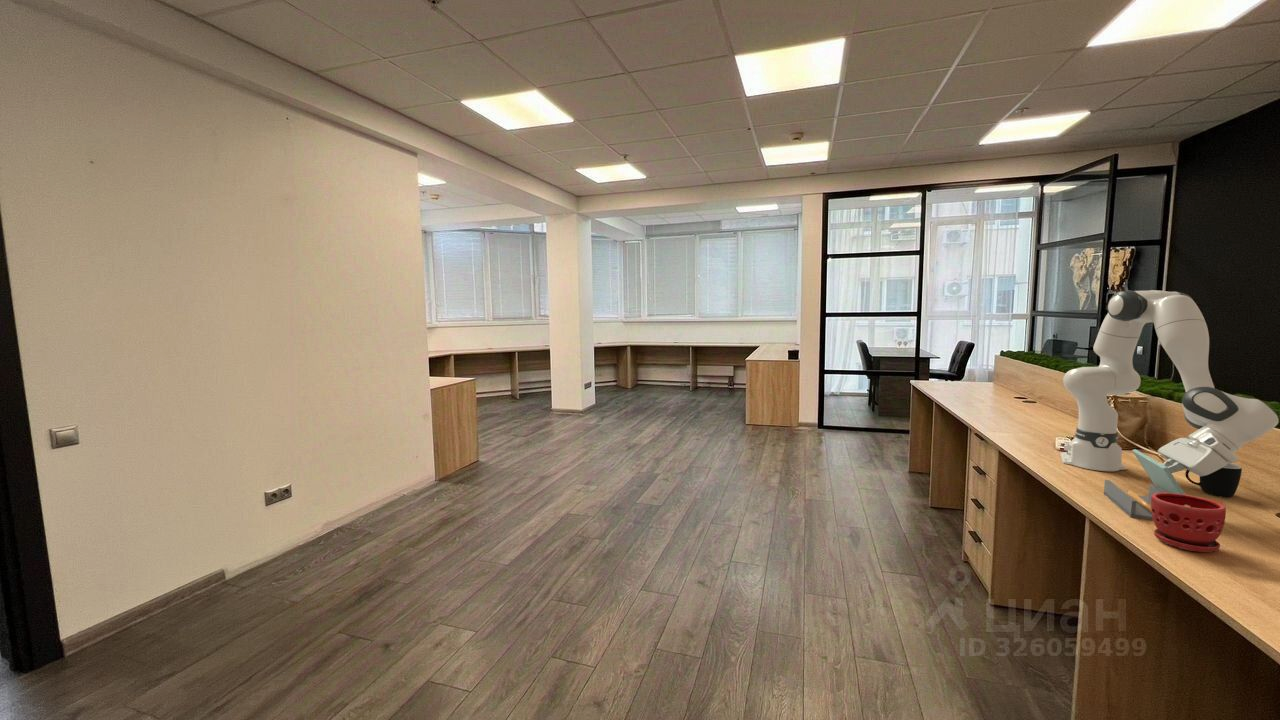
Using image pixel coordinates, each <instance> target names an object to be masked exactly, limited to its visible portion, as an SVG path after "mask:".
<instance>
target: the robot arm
mask: <svg viewBox="0 0 1280 720" xmlns="http://www.w3.org/2000/svg"><path fill="white" fill-rule="evenodd" d="M1106 308H1107V314H1106V315H1105V317H1104V319H1103V321H1102V323H1101V326H1100V328H1099V329H1098V330H1099V331H1098V333H1097V336H1096V339H1095V342H1094V344H1093V352H1094V353H1095V354H1096V355H1097V356H1098V357H1099V360H1100V361H1099V365H1098V366H1081V367H1076V368H1072V369H1070V370H1068V371H1066V373H1064V375H1063V378H1062V382H1063V383H1062V384H1063V386H1064V389H1065V390H1066V391H1067V392H1069V393H1070V394H1071V395H1072V396H1073V398H1074V399H1075V402H1076V404H1077V408H1078V423H1077V427H1076V430H1075V432H1074V438H1073V439H1072V440H1071V441H1070V442H1069V443H1068V444H1064V446H1063V450H1064V451H1065V452H1064V451H1063V452H1060V457H1061V460H1062V463H1063V464H1067V465H1070V466H1076V467H1078V468H1082V469H1087V470H1092V471H1099V472H1100V471H1101V472H1119V471H1120V470H1121V471H1123V470H1125V471H1126V470H1127V466H1126V465H1124V464H1122V462H1123V461H1122V460H1123V457H1122V455H1123V454H1122V453H1123V451H1122V447H1121V446H1120V445H1119V444H1118V439H1119V433H1118V432H1117V431H1118V420H1119V413H1118V411H1117V410H1116V409H1115V408H1113V407H1112V406H1110V404H1109V402H1108V397H1107V396H1121V395H1126V394H1130V393H1134V392H1135V391H1137V390H1139V388H1140V386H1141V381H1142V380H1141V376H1140V374H1139V373H1138V372H1137V371H1136V370H1135V368H1134V363H1133V360H1134V359H1133V358H1134V353H1135V350H1136V348H1137V345H1138V341H1139V340H1140V337H1141V334H1142V331H1143V328H1144V326H1145V325H1146V324H1150V323H1152V324H1153V326H1154V330H1155V333H1156V336H1157V338H1158V341H1159V342H1160V345H1161V347H1162V348H1163V349H1164V351H1165V353H1166V354H1167V355H1168V357H1169V359H1170V360H1171V361H1172V363H1173V364H1174V366H1175V367H1176V369H1177V371H1178V373H1179V375H1180V378H1181V381H1182V385H1183V388H1184V390H1185V393H1184V394H1183V395H1182V398H1181V405H1182V409H1183V413H1184V414H1183V415H1184V420H1185V421H1186V422H1187V424H1188V425H1190V426H1192V427H1193V428H1194V429H1196V430H1194V432H1192V433H1190V434H1189V435H1187V437H1179V438H1176V439H1174V440H1172V441H1170V442H1168V443H1167V444H1165V445H1162V446H1161V447H1159V448H1158V450H1157V452H1158V454H1160V455H1161V456H1162V457H1163V458H1164V459H1165V461H1164V462H1163V463H1162V465H1164V466H1166V467H1167V468H1168V469H1169V471H1170V472H1171V474H1172V475H1173V474H1174V473H1178V472H1182V471H1184V470H1189V472H1191V473H1193V474H1195V475H1197V476H1199V477H1200V476H1205V475H1209V474H1211V473H1213V472H1215V471H1217V470H1219V469H1220V468H1222V467H1224V466H1225V465H1227V463H1232V464H1235V463H1236V462H1237V461H1238V460H1239V457H1238V456H1237V454H1236V451H1238V450H1240V449H1241V447H1242V446H1244V445H1245V444H1247V443H1250V442H1253V441H1256V440H1257V439H1259V438H1261V437H1263V436H1264V435H1266V434H1267V433H1268V432H1270V431H1272V430H1273V429H1274V428H1275V427H1276V426H1278V424H1279V422H1280V421H1279V420H1280V419H1279V415H1278V414H1277V413H1276V411H1275V410H1274V409H1273V408H1272V407H1271V406H1270V405H1269V404H1268V403H1266V402H1264V401H1262V400H1260V399H1257V398H1247V397H1242V396H1237V395H1234V394H1230V393H1227V392H1224V391H1223V390H1222V391H1221V390H1219V389H1217V388H1215V384H1214V382H1213V379H1212V377H1211V374H1210V369H1209V353H1210V335H1209V329H1208V325H1207V322H1206V320H1205V317H1204V316H1203V313H1202V311H1201V310H1200V308H1199V306H1198V305H1197V303H1196V302H1195V301H1194V299H1193V298H1192V297H1191V296H1190V295H1189V294H1186V293H1184V292H1179V291H1169V290H1168V291H1166V290H1158V289H1157V290H1155V289H1151V290H1123V291H1122V290H1121V291H1118V292H1115V293H1114V294H1113V295H1112V296H1111V297H1110V298H1109V300H1108V302H1107V307H1106Z"/></svg>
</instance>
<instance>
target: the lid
mask: <svg viewBox="0 0 1280 720" xmlns="http://www.w3.org/2000/svg"><path fill="white" fill-rule="evenodd" d="M1131 451H1132V454H1133V455H1134V456H1135V458H1136V459H1137V460H1138V462H1139V463H1140V466H1142V468H1143V470H1144V471H1145V473H1146V474H1147V475H1148V477H1149V478H1150V480H1151V482H1152V483H1153V485H1155V486H1156V487H1158V488H1159V489H1161V490H1162V491H1164V492H1165V493H1175V494H1183V495H1187V494H1186V493H1185V492H1184V490H1183V488H1182V487H1181V486H1180V483H1179V482H1178V481H1177V480H1176V478H1175V477H1174V475H1173V473H1172V474H1171V472H1170V471H1169V469H1168V468H1167V467H1166V466H1164V465H1163V463H1161V462H1159V461H1157V460H1156V459H1154V458H1152V457H1150V456H1148V455H1147V454H1144V453H1143V452H1141V451H1140V450H1137V449H1135V448H1134V449H1132V450H1131ZM1186 506H1187V507H1190V506H1189V505H1186Z"/></svg>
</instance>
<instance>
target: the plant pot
mask: <svg viewBox="0 0 1280 720" xmlns="http://www.w3.org/2000/svg"><path fill="white" fill-rule="evenodd" d="M1184 505H1185V506H1184ZM1187 505H1189V507H1188V506H1187ZM1151 511H1152V517H1153V520H1152V521H1153V523H1154V525H1155V527H1156V529H1154V530H1153V534H1154V536H1155V538H1157V539H1158V540H1159V541H1161V542H1163V543H1165V544H1166V545H1168V544H1169V545H1168V546H1172V547H1175V548H1178V549H1181V550H1187V551H1192V552H1198V553H1211V552H1215V551H1217V550H1219V549H1220V547H1221V544H1220V543H1219V541H1217V539H1219V537H1220V535H1222V532H1223V529H1224V527H1225V522H1226V517H1227V516H1226V515H1227V508H1226V506H1225V505H1223V504H1222V503H1219V502H1217V501H1216V500H1215V501H1214V500H1211V499H1208V498H1203V497H1200V496H1195V495H1194V496H1193V495H1189V494H1186V495H1183V494H1175V493H1167V492H1165V493H1156V494H1153V495H1152V496H1151Z"/></svg>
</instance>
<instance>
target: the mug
mask: <svg viewBox="0 0 1280 720" xmlns="http://www.w3.org/2000/svg"><path fill="white" fill-rule="evenodd" d="M1185 470H1186V471H1185V474H1184V475H1185V477H1186V479H1187V480H1188V482H1190V483H1191V484H1193V485H1196V486H1198V487H1200V489H1201V491H1202V492H1203V493H1204V492H1205V494H1207V493H1208V494H1207V495H1210V494H1212V495H1211V496H1214V495H1216V497H1219V496H1222V497H1221V498H1232V497H1234V495H1235V494H1236V492H1237V490H1238V487H1239V485H1240V480H1241V476H1242V473H1243V472H1242V470H1243V467H1242V466H1240V465H1238V464H1235V463H1227V465H1225V466H1224V467H1222V468H1220V469H1219V470H1217V471H1215V472H1213V473H1211V474H1209V475H1205V476H1199V482H1195V481H1194V480H1193V479H1191V478H1190V477H1189V474H1190V471H1189V470H1187V469H1185Z"/></svg>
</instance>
